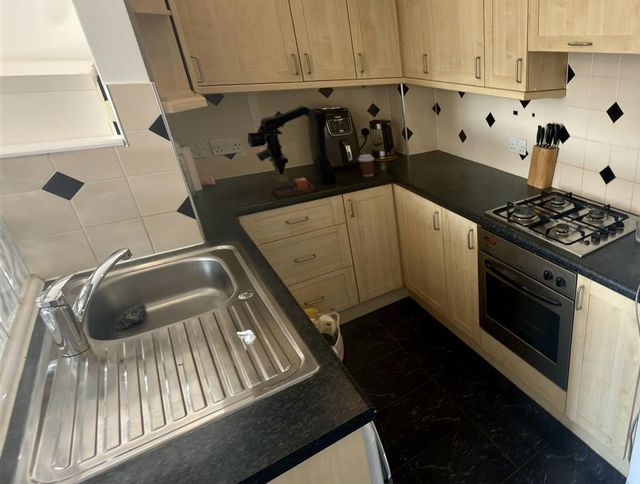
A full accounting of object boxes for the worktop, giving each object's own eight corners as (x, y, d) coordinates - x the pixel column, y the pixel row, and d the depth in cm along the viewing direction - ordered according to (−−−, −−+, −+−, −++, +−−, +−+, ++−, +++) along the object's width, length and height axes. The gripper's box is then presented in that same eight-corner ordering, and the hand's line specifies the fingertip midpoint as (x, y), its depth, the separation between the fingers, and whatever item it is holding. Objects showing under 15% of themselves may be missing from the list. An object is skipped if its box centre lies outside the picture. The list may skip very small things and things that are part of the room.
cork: (283, 182, 209) (278, 162, 205) (273, 181, 210) (267, 161, 206) (291, 179, 215) (286, 158, 210) (281, 178, 216) (276, 158, 211)
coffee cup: (357, 176, 244) (354, 156, 239) (367, 172, 252) (364, 153, 247) (369, 177, 241) (366, 158, 236) (379, 173, 249) (376, 154, 244)
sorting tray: (308, 185, 227) (307, 181, 226) (314, 190, 219) (314, 186, 218) (272, 191, 216) (271, 187, 215) (278, 198, 208) (277, 193, 207)
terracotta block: (305, 186, 223) (303, 177, 221) (308, 188, 220) (306, 179, 218) (295, 188, 220) (293, 179, 218) (298, 190, 217) (296, 181, 215)
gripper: (251, 142, 206) (259, 172, 212) (259, 149, 193) (267, 181, 200) (275, 139, 213) (282, 168, 219) (285, 146, 200) (291, 176, 206)
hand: (280, 173), depth 211 cm, fingers closed on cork, 4 cm apart
